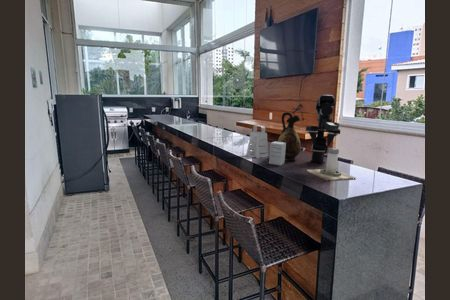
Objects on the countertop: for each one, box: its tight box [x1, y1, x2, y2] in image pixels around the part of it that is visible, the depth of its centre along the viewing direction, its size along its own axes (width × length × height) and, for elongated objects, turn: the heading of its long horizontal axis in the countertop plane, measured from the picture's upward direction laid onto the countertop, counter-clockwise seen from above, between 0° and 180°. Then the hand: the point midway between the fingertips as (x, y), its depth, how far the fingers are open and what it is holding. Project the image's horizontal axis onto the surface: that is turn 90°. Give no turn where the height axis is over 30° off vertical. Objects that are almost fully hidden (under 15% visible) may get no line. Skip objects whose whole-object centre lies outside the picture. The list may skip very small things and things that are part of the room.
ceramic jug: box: [276, 111, 302, 161], centre depth 175 cm, size 17×15×30 cm
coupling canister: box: [325, 147, 340, 174], centre depth 141 cm, size 5×5×13 cm
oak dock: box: [306, 168, 356, 182], centre depth 142 cm, size 17×17×2 cm
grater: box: [245, 124, 269, 159], centre depth 180 cm, size 10×10×20 cm
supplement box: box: [268, 140, 286, 166], centre depth 161 cm, size 7×7×13 cm
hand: (321, 145), depth 152 cm, fingers open, 9 cm apart
